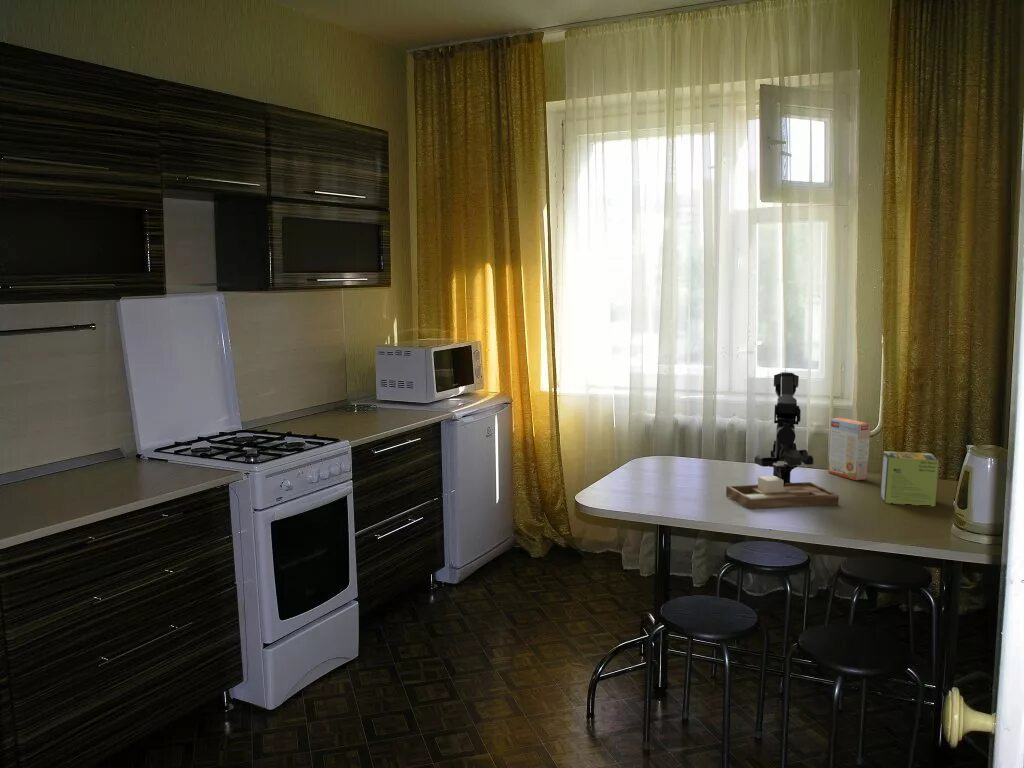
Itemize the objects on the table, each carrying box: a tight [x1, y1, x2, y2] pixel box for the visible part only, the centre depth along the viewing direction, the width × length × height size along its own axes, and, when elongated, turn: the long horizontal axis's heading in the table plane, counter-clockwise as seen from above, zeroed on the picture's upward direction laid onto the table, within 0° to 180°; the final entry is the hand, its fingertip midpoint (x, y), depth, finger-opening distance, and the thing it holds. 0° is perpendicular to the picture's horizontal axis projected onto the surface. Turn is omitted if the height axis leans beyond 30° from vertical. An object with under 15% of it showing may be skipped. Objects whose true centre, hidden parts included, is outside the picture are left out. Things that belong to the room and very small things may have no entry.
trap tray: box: [725, 481, 840, 510], centre depth 284 cm, size 17×31×3 cm, turn 102°
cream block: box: [757, 475, 784, 493], centre depth 287 cm, size 6×6×4 cm
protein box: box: [879, 450, 940, 507], centre depth 284 cm, size 10×15×16 cm
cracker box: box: [827, 417, 872, 481], centre depth 316 cm, size 14×6×21 cm, turn 22°
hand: (782, 484), depth 288 cm, fingers closed
